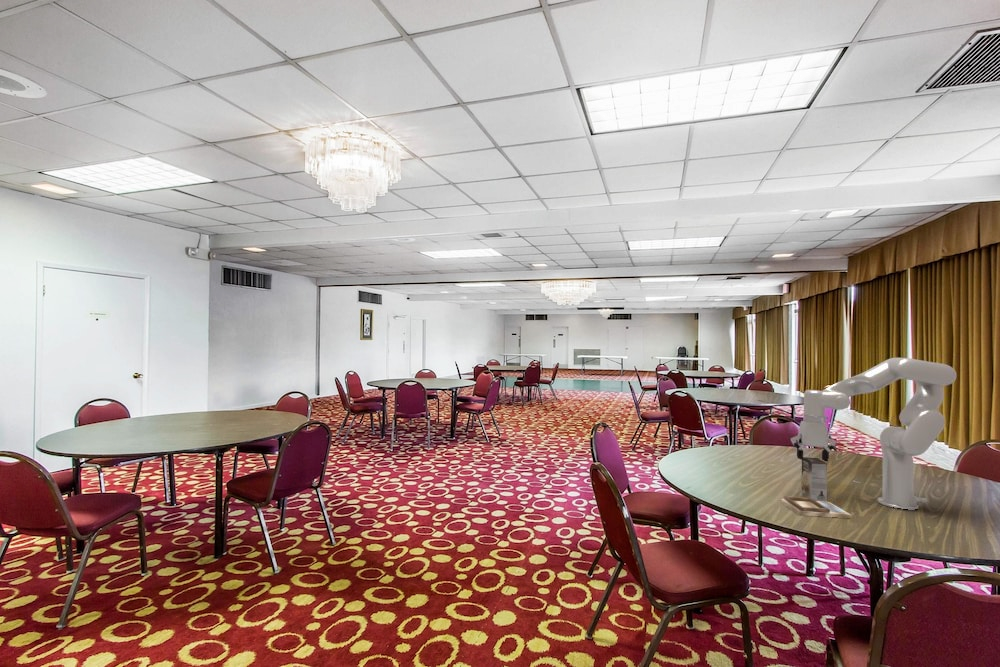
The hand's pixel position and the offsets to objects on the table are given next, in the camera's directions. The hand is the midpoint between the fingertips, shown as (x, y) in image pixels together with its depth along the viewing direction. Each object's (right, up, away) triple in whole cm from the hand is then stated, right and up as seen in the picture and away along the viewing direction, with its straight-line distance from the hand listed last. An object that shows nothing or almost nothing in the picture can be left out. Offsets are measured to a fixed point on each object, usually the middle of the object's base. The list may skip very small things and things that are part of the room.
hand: (812, 459), depth 192 cm
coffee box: (0, -16, 0) cm, 16 cm away
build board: (-10, -16, -15) cm, 24 cm away
